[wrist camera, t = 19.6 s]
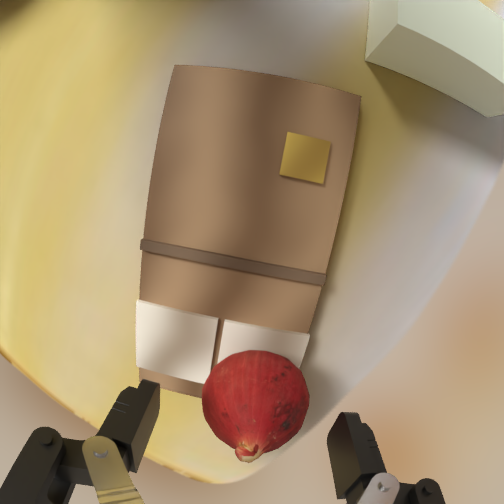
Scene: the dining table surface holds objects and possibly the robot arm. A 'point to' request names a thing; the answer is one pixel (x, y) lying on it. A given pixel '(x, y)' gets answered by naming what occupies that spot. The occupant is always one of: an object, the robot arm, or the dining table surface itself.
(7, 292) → the dining table surface
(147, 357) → the board
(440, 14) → the block
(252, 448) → the onion
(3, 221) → the dining table surface
